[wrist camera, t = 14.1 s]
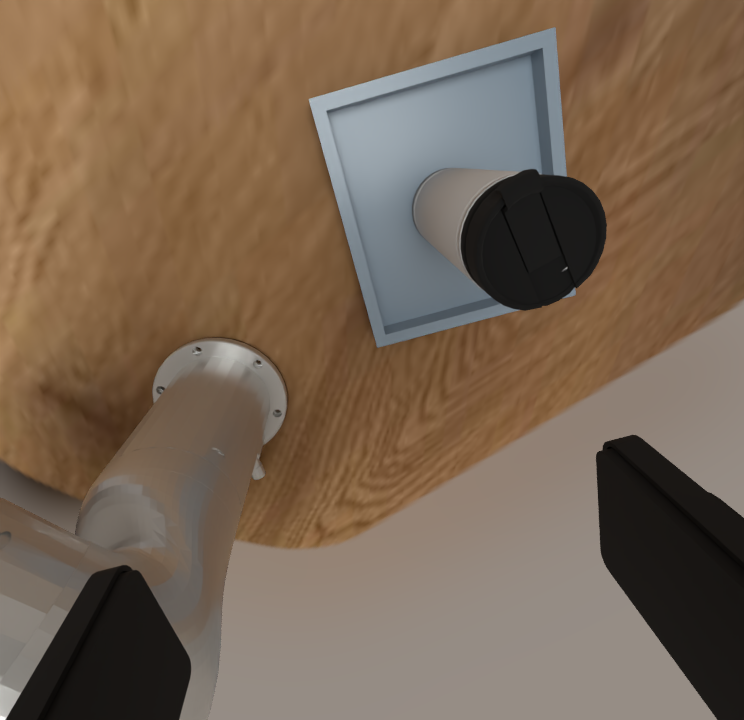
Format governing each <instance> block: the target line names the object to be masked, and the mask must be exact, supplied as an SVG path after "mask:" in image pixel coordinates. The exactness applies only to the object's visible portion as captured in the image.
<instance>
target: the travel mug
mask: <svg viewBox="0 0 744 720" xmlns="http://www.w3.org/2000/svg"><path fill="white" fill-rule="evenodd" d="M412 217H413V222H414V224H415V227H416V229H417V230H418V232H419V233H420V234H421V235H422V236H423V237H424V238H425V239H426V240H427V241H428V242H429V243H430V244H431V245H432V246H433V247H435V248H436V249H437V250H438V251H439V252H440V253H441V254H442V255H443V256H445V257H446V258H447V259H448V260H449V261H450V262H451V263H452V264H453V265H455V266H456V267H457V268H458V269H459V270H460V271H461V272H462V273H463V274H464V275H466V276H467V277H468V278H469V279H470V280H471V281H472V282H473V283H475V284H476V285H477V286H478V287H479V288H481V289H482V290H484V291H485V292H486V293H487V294H488V295H490V296H491V297H492V298H493V299H494V300H496V301H497V302H499V303H500V304H502V305H504V306H506V307H509V308H512V309H517V310H525V311H526V310H530V309H535V308H540V307H542V306H547V305H550V304H552V303H554V302H556V301H559V300H560V299H562V298H563V297H565V296H566V295H568V294H570V292H571V291H572V290H573V289H574V288H575V287H576V288H578V287H579V286H580V285H581V284H582V283H583V282H584V281H585V280H586V279H587V278H588V277H589V276H590V275H591V274H592V272H593V270H594V269H595V267H596V266H597V264H598V262H599V259H600V257H601V254H602V252H603V249H604V244H605V240H606V226H607V224H606V218H605V212H604V210H603V207H602V205H601V202H600V200H599V199H598V197H597V196H596V195H595V193H594V192H593V191H592V190H591V189H590V188H589V187H588V186H586V185H585V184H584V183H582V182H580V181H578V180H576V179H574V178H570V177H565V176H560V175H545V174H539V172H538V171H537V170H536V169H528V170H523V171H521V172H517V171H500V170H483V169H466V168H445V169H441V170H438V171H436V172H434V173H432V174H430V175H429V176H428V177H426V178H425V179H424V180H423V182H422V183H421V184H420V185H419V187H418V189H417V190H416V193H415V195H414V198H413V203H412Z"/></svg>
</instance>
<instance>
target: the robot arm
mask: <svg viewBox="0 0 744 720" xmlns="http://www.w3.org/2000/svg"><path fill="white" fill-rule="evenodd" d="M197 347H199V348H201V350H199V349H198V348H197ZM256 360H259V361H261V363H258V362H257V361H256ZM163 387H164V388H163ZM152 394H153V403H154V404H153V406H152V407H151V408H150V410H149V411H148V412H147V414H146V415H145V416H144V417H143V419H142V420H141V421H140V423H139V424H138V425H137V427H136V428H135V429H134V431H133V432H132V433H131V434H130V436H129V437H128V438H127V440H126V441H125V442H124V444H123V445H122V446H121V448H120V449H119V450H118V451H117V453H116V454H115V455H114V457H113V458H112V459H111V461H110V462H109V463H108V465H107V466H106V467H105V469H104V470H103V471H102V472H101V473H100V475H99V476H98V478H97V479H96V480H95V482H94V483H93V484H92V486H91V487H90V489H89V491H88V493H87V494H86V496H85V499H84V501H83V504H82V506H81V509H80V512H79V516H78V520H77V525H76V531H75V535H74V534H72V533H70V532H68V531H66V530H64V529H62V528H60V527H58V526H56V525H54V524H52V523H50V522H48V521H46V520H45V519H42V518H41V517H39V516H37V515H35V514H33V513H30V512H29V511H26V510H25V509H23V508H21V507H19V506H17V505H15V504H13V503H11V502H9V501H7V500H5V499H3V498H0V720H207V719H208V716H209V713H210V710H211V706H212V701H213V696H214V692H215V687H216V682H217V677H218V669H219V658H220V648H221V622H222V602H223V592H224V585H225V578H226V573H227V568H228V563H229V558H230V554H231V550H232V546H233V542H234V539H235V535H236V531H237V527H238V524H239V520H240V516H241V513H242V509H243V506H244V502H245V498H246V495H247V491H248V489H249V484H250V480H251V477H252V478H253V479H254V480H258V479H261V478H262V477H264V476H265V474H266V472H265V470H264V467H263V465H262V463H261V462H260V460H259V458H260V455H261V451H262V447H263V445H264V444H266V443H267V442H268V441H269V440H271V439H272V438H273V437H274V436H275V434H276V433H277V432H278V430H279V429H280V427H281V425H282V423H283V420H284V418H285V414H286V410H287V391H286V386H285V383H284V381H283V378H282V376H281V374H280V373H279V371H278V369H277V368H276V366H275V365H274V364H273V363H272V362H271V361H270V360H269V359H268V358H267V357H266V356H265V355H264V354H262V353H261V352H260V351H258V350H257V349H255V348H253V347H251V346H249V345H247V344H245V343H242V342H239V341H236V340H233V339H226V338H204V339H199V340H195V341H192V342H190V343H187V344H185V345H183V346H181V347H180V348H178V349H177V350H175V351H174V352H172V353H171V355H170V356H169V357H168V358H167V359H166V360H165V361H164V362H163V364H162V365H161V366H160V368H159V369H158V372H157V374H156V376H155V379H154V383H153V388H152ZM277 410H280V411H277ZM596 463H597V485H598V505H599V527H600V547H601V555H602V558H603V561H604V563H605V565H606V567H607V569H608V570H609V572H610V573H611V574H612V576H613V577H614V579H615V580H616V581H617V583H618V584H619V585H620V587H621V588H622V589H623V591H624V592H625V594H626V595H627V596H628V598H629V599H630V600H631V602H632V603H633V605H634V606H635V607H636V609H637V610H638V611H639V613H640V614H641V615H642V617H643V618H644V620H645V621H646V622H647V624H648V625H649V626H650V628H651V629H652V631H653V632H654V633H655V635H656V636H657V637H658V639H659V640H660V642H661V643H662V644H663V646H664V647H665V648H666V650H667V651H668V652H669V654H670V655H671V657H672V658H673V659H674V660H675V662H676V663H677V665H678V666H679V668H680V669H681V670H682V672H683V673H684V674H685V676H686V677H687V678H688V680H689V681H690V683H691V684H692V685H693V687H694V688H695V689H696V691H697V692H698V694H699V695H700V696H701V698H702V699H703V700H704V702H705V703H706V704H707V706H708V707H709V709H710V710H711V711H712V713H713V714H714V715H715V717H716V718H717V720H744V518H743V517H742V516H741V515H739V514H738V513H737V512H736V511H734V510H733V509H732V508H731V507H729V506H728V505H727V504H726V503H724V502H723V501H722V500H721V499H719V498H718V497H716V496H714V495H713V494H712V493H709V492H707V491H705V490H704V489H703V488H702V487H701V486H699V485H698V484H697V483H696V482H694V481H693V480H692V479H691V478H689V477H688V476H687V475H686V474H685V473H683V472H682V471H681V470H680V469H678V468H677V467H676V466H675V465H673V464H672V463H671V462H670V461H669V460H667V459H666V458H665V457H664V456H662V455H661V454H660V453H659V452H657V451H656V450H655V449H654V448H653V447H651V446H650V445H649V444H648V443H646V442H645V441H644V440H643V439H642V438H640V437H638V436H636V435H630V436H627V437H623V438H619V439H615V440H611V441H607V442H605V443H604V445H603V450H602V451H599V452H597V455H596Z"/></svg>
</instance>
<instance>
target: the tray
mask: <svg viewBox="0 0 744 720" xmlns="http://www.w3.org/2000/svg"><path fill="white" fill-rule="evenodd" d="M309 102H310V106H311V109H312V113H313V117H314V120H315V124H316V127H317V131H318V135H319V138H320V142H321V146H322V149H323V153H324V156H325V160H326V164H327V167H328V171H329V175H330V178H331V182H332V185H333V189H334V193H335V196H336V200H337V203H338V207H339V211H340V214H341V218H342V222H343V225H344V229H345V232H346V236H347V240H348V243H349V247H350V251H351V254H352V258H353V261H354V265H355V269H356V272H357V276H358V279H359V283H360V287H361V290H362V294H363V298H364V301H365V305H366V308H367V312H368V316H369V319H370V323H371V327H372V330H373V334H374V337H375V341H376V345H377V348H378V347H382V346H386V345H390V344H393V343H397V342H401V341H405V340H409V339H412V338H416V337H420V336H424V335H427V334H431V333H435V332H439V331H442V330H446V329H450V328H454V327H457V326H461V325H465V324H469V323H472V322H476V321H480V320H484V319H487V318H491V317H495V316H499V315H502V314H506V313H510V312H514V311H517V309H512V308H509V307H506V306H504V305H502V304H500V303H499V302H497V301H496V300H494V299H493V298H492V297H491V296H490V295H488V294H487V293H486V292H485V291H484V290H482V289H481V288H479V287H478V286H477V285H476V284H475V283H473V282H472V281H471V280H470V279H469V278H468V277H467V276H466V275H464V274H463V273H462V272H461V271H460V270H459V269H458V268H457V267H456V266H455V265H453V264H452V263H451V262H450V261H449V260H448V259H447V258H446V257H445V256H443V255H442V254H441V253H440V252H439V251H438V250H437V249H436V248H435V247H433V246H432V245H431V244H430V243H429V242H428V241H427V240H426V239H425V238H424V237H423V236H422V235H421V234H420V233H419V232H418V230H417V229H416V227H415V224H414V222H413V217H412V203H413V198H414V195H415V193H416V190H417V189H418V187H419V185H420V184H421V183H422V182H423V180H424V179H425V178H426V177H428V176H429V175H430V174H432V173H434V172H436V171H438V170H441V169H445V168H466V169H483V170H500V171H517V172H521V171H523V170H528V169H536V170H537V171H538V172H539V174H545V175H560V176H565V177H567V174H566V161H565V148H564V135H563V121H562V108H561V95H560V82H559V69H558V56H557V43H556V29H555V27H554V28H551V29H547V30H544V31H541V32H537V33H534V34H530V35H527V36H523V37H520V38H517V39H513V40H510V41H506V42H503V43H499V44H496V45H493V46H489V47H486V48H482V49H479V50H475V51H472V52H469V53H465V54H462V55H458V56H455V57H452V58H448V59H445V60H441V61H438V62H434V63H431V64H428V65H424V66H421V67H417V68H414V69H410V70H407V71H404V72H400V73H397V74H393V75H390V76H386V77H383V78H380V79H376V80H373V81H369V82H366V83H362V84H359V85H356V86H352V87H349V88H345V89H342V90H338V91H335V92H332V93H328V94H325V95H321V96H318V97H314V98H311V99H309ZM574 295H576V292H575V288H574V289H573V290H572V291H571V292H570V294H568V295H566V296H565V297H563V298H566V297H570V296H574Z"/></svg>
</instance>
